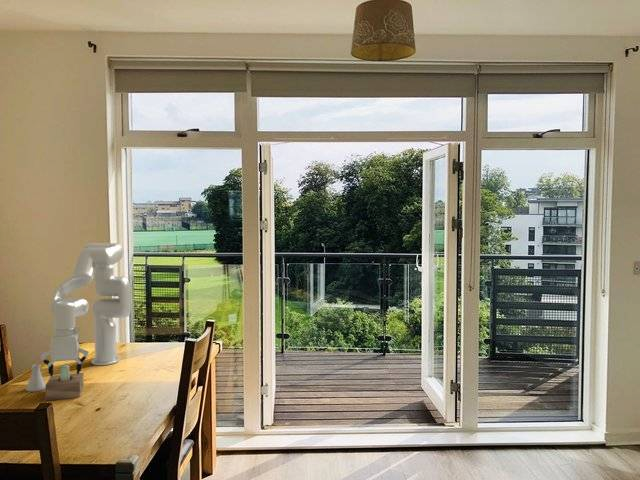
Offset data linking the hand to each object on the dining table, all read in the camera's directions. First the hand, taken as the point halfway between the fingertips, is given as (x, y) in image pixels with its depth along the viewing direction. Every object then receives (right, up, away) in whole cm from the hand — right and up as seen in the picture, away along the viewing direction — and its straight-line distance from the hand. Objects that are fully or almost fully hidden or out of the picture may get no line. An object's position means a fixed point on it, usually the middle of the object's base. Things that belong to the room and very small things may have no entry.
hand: (65, 374), depth 197 cm
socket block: (0, -8, 0) cm, 8 cm away
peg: (0, -7, 0) cm, 7 cm away
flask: (-14, -8, +5) cm, 17 cm away
